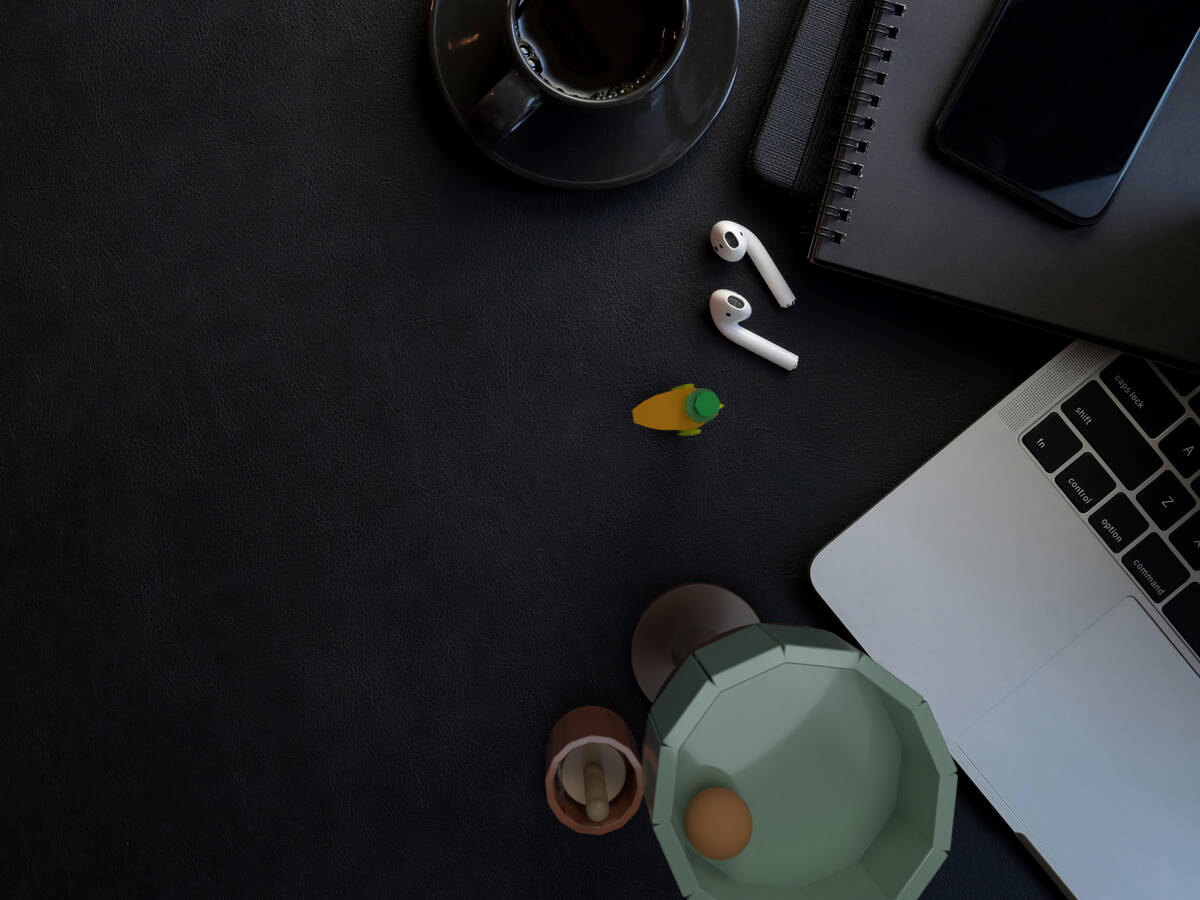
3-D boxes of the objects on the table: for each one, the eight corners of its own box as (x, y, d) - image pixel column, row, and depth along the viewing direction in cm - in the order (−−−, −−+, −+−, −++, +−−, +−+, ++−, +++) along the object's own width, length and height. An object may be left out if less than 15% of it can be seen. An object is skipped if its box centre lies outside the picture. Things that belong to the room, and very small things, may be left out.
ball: (671, 858, 40) (737, 886, 40) (695, 800, 40) (762, 828, 39) (678, 819, 43) (739, 844, 43) (700, 764, 42) (762, 790, 42)
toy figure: (627, 444, 68) (642, 442, 56) (620, 396, 68) (633, 383, 56) (717, 431, 69) (751, 426, 57) (710, 383, 69) (743, 368, 57)
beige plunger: (618, 785, 68) (632, 855, 56) (555, 778, 68) (555, 848, 56) (625, 722, 68) (640, 779, 56) (563, 715, 68) (564, 771, 56)
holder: (630, 797, 68) (639, 838, 61) (541, 788, 68) (539, 829, 61) (639, 709, 68) (650, 741, 61) (551, 701, 68) (550, 731, 61)
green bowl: (895, 906, 44) (938, 964, 39) (629, 882, 43) (639, 938, 38) (923, 639, 44) (970, 663, 39) (659, 612, 43) (672, 632, 38)
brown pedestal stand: (772, 743, 69) (895, 906, 44) (603, 727, 68) (629, 882, 43) (790, 573, 69) (923, 639, 44) (621, 555, 68) (659, 612, 43)
